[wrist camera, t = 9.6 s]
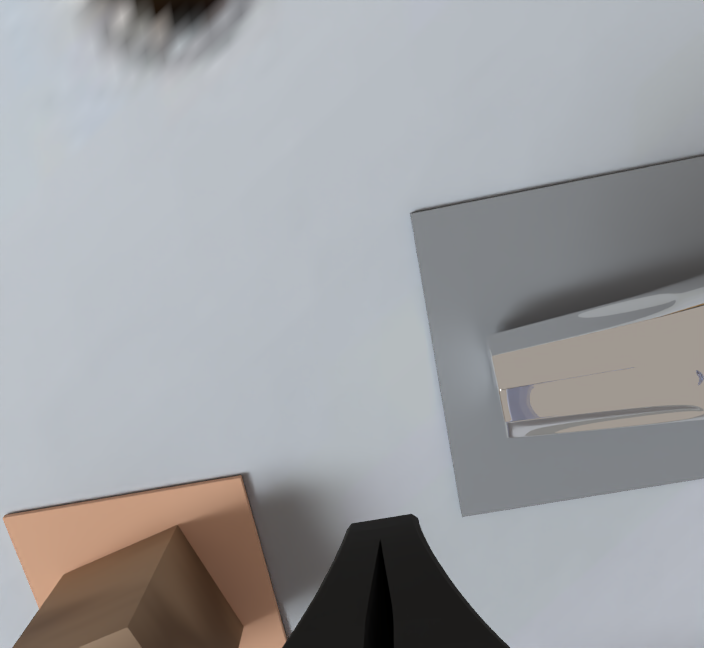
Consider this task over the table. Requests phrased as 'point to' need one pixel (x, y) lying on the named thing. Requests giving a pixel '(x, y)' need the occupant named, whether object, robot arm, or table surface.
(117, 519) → the tile terracotta
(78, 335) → the table surface
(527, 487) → the tile slate
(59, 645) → the walnut block
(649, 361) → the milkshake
